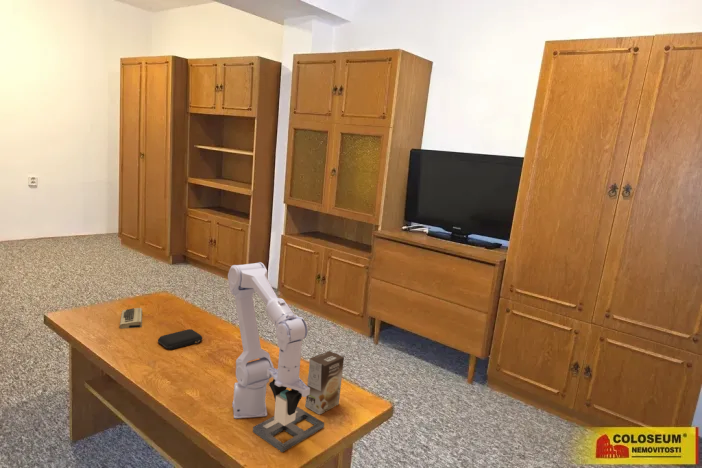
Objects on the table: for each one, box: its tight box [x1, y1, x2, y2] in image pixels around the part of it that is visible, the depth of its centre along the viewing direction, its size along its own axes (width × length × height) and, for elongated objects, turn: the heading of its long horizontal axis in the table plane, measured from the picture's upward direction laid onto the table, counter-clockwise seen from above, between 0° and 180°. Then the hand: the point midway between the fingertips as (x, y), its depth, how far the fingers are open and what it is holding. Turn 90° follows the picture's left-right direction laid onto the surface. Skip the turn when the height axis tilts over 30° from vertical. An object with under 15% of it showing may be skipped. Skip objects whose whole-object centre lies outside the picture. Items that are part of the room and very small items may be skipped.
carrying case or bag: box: [157, 329, 203, 351], centre depth 177 cm, size 11×3×15 cm
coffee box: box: [304, 350, 345, 415], centre depth 143 cm, size 9×6×16 cm
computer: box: [119, 307, 143, 329], centre depth 192 cm, size 16×8×3 cm, turn 23°
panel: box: [252, 406, 325, 453], centre depth 130 cm, size 16×12×2 cm
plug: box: [273, 389, 296, 426], centre depth 124 cm, size 4×4×8 cm
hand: (285, 409), depth 125 cm, fingers closed on plug, 4 cm apart
